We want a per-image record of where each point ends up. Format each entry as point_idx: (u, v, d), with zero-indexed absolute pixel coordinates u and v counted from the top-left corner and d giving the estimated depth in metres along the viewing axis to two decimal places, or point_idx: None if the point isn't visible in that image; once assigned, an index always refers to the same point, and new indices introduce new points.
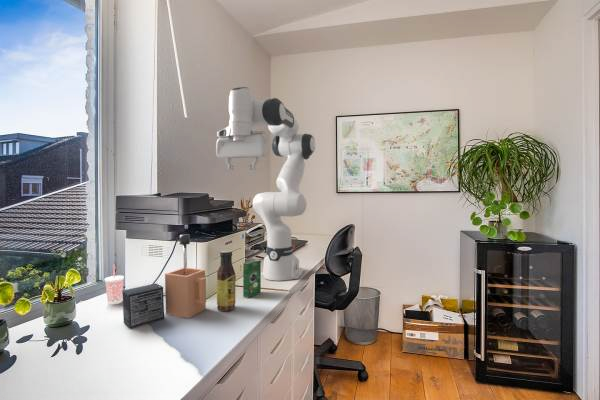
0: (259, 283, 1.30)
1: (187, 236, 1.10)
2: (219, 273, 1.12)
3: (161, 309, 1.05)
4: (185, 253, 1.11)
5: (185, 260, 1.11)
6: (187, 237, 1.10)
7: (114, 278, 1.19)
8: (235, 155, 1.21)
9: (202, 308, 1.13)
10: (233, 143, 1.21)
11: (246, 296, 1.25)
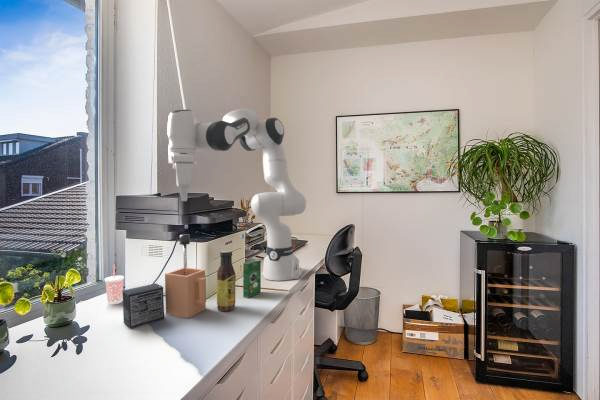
0: (259, 283, 1.30)
1: (187, 236, 1.10)
2: (219, 273, 1.12)
3: (161, 309, 1.05)
4: (185, 253, 1.11)
5: (185, 260, 1.11)
6: (187, 237, 1.10)
7: (114, 278, 1.19)
8: None
9: (202, 308, 1.13)
10: None
11: (246, 296, 1.25)
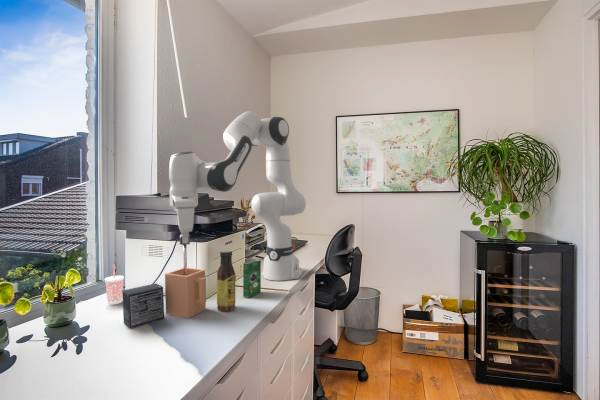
0: (259, 283, 1.30)
1: None
2: (219, 273, 1.12)
3: (161, 309, 1.05)
4: (185, 253, 1.11)
5: (185, 260, 1.11)
6: None
7: (114, 278, 1.19)
8: None
9: (202, 308, 1.13)
10: None
11: (246, 296, 1.25)
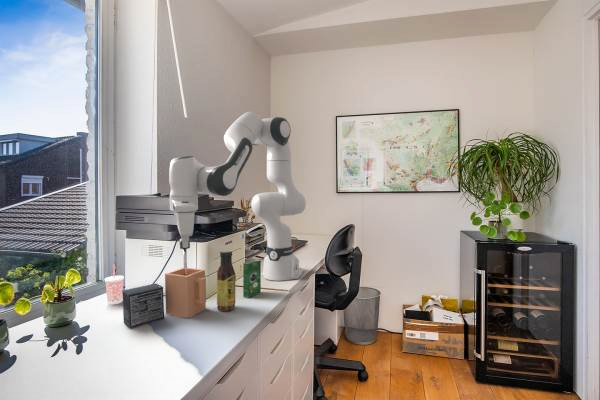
0: (259, 283, 1.30)
1: None
2: (219, 273, 1.12)
3: (161, 309, 1.05)
4: (185, 257, 1.11)
5: (185, 264, 1.11)
6: None
7: (114, 278, 1.19)
8: None
9: (202, 308, 1.13)
10: None
11: (246, 296, 1.25)
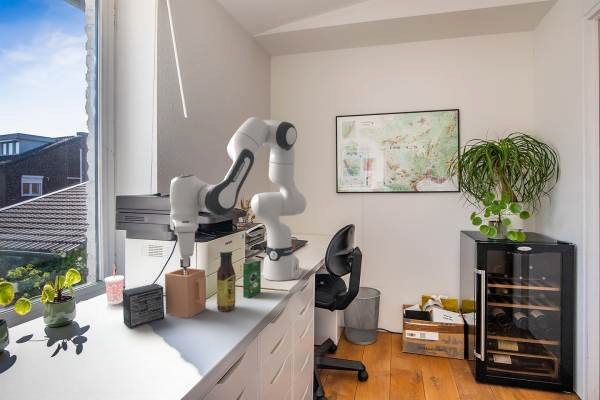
0: (259, 283, 1.30)
1: None
2: (219, 273, 1.12)
3: (161, 309, 1.05)
4: None
5: None
6: None
7: (114, 278, 1.19)
8: None
9: (202, 308, 1.13)
10: None
11: (246, 296, 1.25)
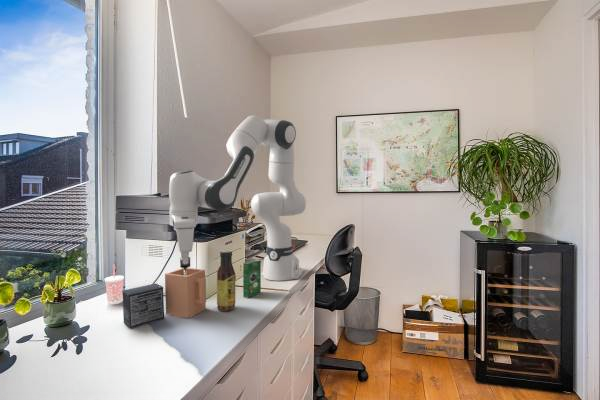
0: (259, 283, 1.30)
1: None
2: (219, 273, 1.12)
3: (161, 309, 1.05)
4: None
5: None
6: None
7: (114, 278, 1.19)
8: None
9: (202, 308, 1.13)
10: None
11: (246, 296, 1.25)
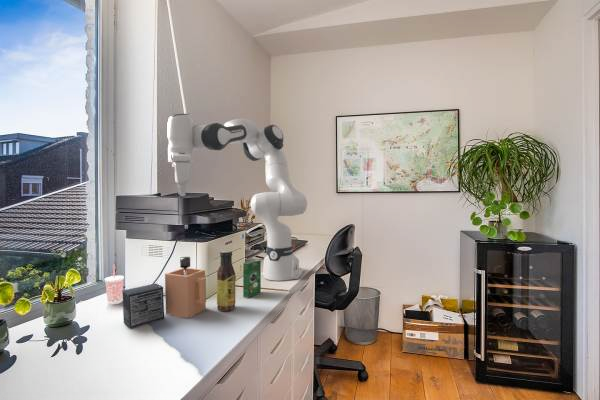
0: (259, 283, 1.30)
1: (187, 259, 1.10)
2: (219, 273, 1.12)
3: (161, 309, 1.05)
4: None
5: None
6: (187, 260, 1.10)
7: (114, 278, 1.19)
8: None
9: (202, 308, 1.13)
10: None
11: (246, 296, 1.25)
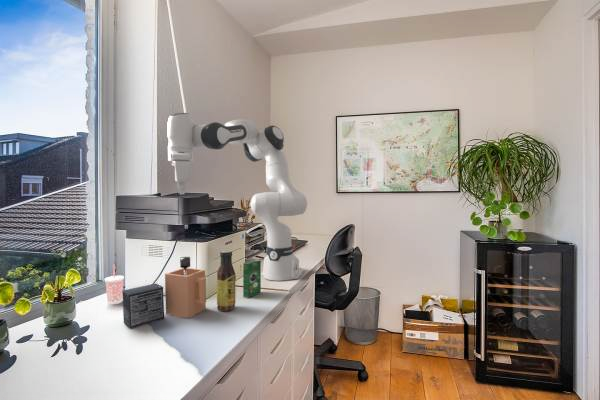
0: (259, 283, 1.30)
1: (187, 259, 1.10)
2: (219, 273, 1.12)
3: (161, 309, 1.05)
4: None
5: None
6: (187, 260, 1.10)
7: (114, 278, 1.19)
8: None
9: (202, 308, 1.13)
10: None
11: (246, 296, 1.25)
